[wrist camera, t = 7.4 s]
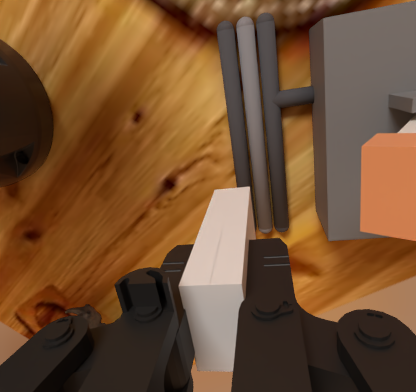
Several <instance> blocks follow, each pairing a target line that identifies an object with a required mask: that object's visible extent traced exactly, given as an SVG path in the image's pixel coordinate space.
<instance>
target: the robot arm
mask: <svg viewBox="0 0 416 392" xmlns="http://www.w3.org/2000/svg"><path fill="white" fill-rule="evenodd" d="M52 137H53V119H52V112H51V108H50V104H49V101H48V98H47V95H46V93H45V90H44V88H43V86H42V84H41V82H40V80H39V79H38V77H37V75H36V74H35V72H34V71H33V70H32V68H31V67H30V66H29V64H28V63H27V62H26V61H25V60H24V59H23V57H22V56H21V55H20V54H18V53H17V52H16V51H15V50H14V49H13V48H12V47H10V46H9V45H8V44H6V43H5V42H3V41H2V40H0V187H4V186H7V185H10V184H13V183H15V182H17V181H19V180H22V179H24V178H26V177H28V176H30V175H31V174H33V173H34V172H35V171H36V170H38V169H39V167H40V166H41V165H42V164H43V162H44V161H45V159H46V157H47V155H48V153H49V151H50V147H51V143H52ZM115 288H116V292H117V295H118V298H119V301H120V305H121V308H122V311H123V313H122V315H121V317H120V319H119V320H118V321H117V322H114V323H111V324H107V325H103V326H100V327H96V328H92V329H90V328H89V325H88V323H87V321H86V319H85V318H83V317H81V316H68V317H64V318H60V319H58V320H56V321H54V322H52V323H49V324H48V325H47V326H45V327H44V328H42V329H41V330H40V331H39V332H37V333H36V334H35V335H34V336H33V337H32V338H31V339H30V340H28V341H27V342H26V343H25V344H24V345H23V346H22V347H21V348H19V349H18V350H17V351H16V352H15V353H14V354H13V355H12V356H10V358H8V359H7V360H6V361H5V362H4V363H3V364H1V365H0V392H193V379H192V375H191V369H192V364H193V360H194V357H195V362H196V366H197V370H198V371H230V372H233V378H232V389H231V392H416V335H415V334H414V333H413V332H412V331H411V330H410V329H409V328H408V327H407V326H406V325H405V324H403V323H402V322H401V321H400V320H398V319H397V318H395V317H393V316H390V315H388V314H386V313H384V312H380V311H375V310H370V309H364V310H354V311H351V312H349V313H346V314H345V315H344V316H343V317H342V318H341V319H340V320H339V321H338V322H333V321H328V320H324V319H321V318H318V317H315V316H313V315H311V314H309V313H307V312H306V311H305V310H304V309H302V308H301V307H300V305H299V304H298V303H297V301H296V298H295V294H294V287H293V281H292V275H291V268H290V262H289V256H288V249H287V245H286V244H285V243H284V242H283V241H282V240H281V239H280V238H271V239H256V235H255V227H254V218H253V209H252V201H251V192H250V187H239V188H229V189H218V190H215V191H214V193H213V196H212V199H211V201H210V204H209V207H208V209H207V212H206V215H205V217H204V220H203V223H202V225H201V228H200V231H199V233H198V236H197V238H196V241H195V244H191V245H177V246H176V247H175V248H173V249H172V250H171V251H170V252H169V253H168V254H167V256H166V257H165V259H164V261H163V264H162V265H161V267H160V269H159V268H151V267H149V268H143V269H138V270H135V271H133V272H130V273H128V274H127V275H125V276H123V277H122V278H120V279H119V280H118V281H117V282H116V284H115Z"/></svg>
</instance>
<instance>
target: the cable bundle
mask: <svg viewBox="0 0 416 392" xmlns="http://www.w3.org/2000/svg"><path fill="white" fill-rule="evenodd" d="M256 26H257V37H258V48H259V59H260V70H261V81H262V92H263V103H264V114H265V125H266V136H267V147H268V159H269V170H270V181H271V192H272V203H273V214H274V225H275V229H276V230H277V231H279V232H285V231H287V230H288V228H289V218H288V204H287V190H286V177H285V163H284V149H283V135H282V121H281V108H284V107H291V106H298V105H305V104H312V103H314V89H313V86H309V87H303V88H296V89H289V90H283V91H279V80H278V66H277V52H276V38H275V24H274V18H273V16H272V15H271V14H270V13H263V14H261V15H260V16H259V17H258V19H257V22H256ZM236 29H237V38H238V47H239V56H240V65H241V74H242V83H243V92H244V101H245V110H246V119H247V128H248V137H249V146H250V155H251V164H252V173H253V183H254V192H255V201H256V210H257V219H258V227H259V230H260V231H261V232H262V233H269V232H270V231H271V230H272V227H273V226H272V215H271V204H270V193H269V182H268V172H267V161H266V150H265V139H264V129H263V118H262V107H261V96H260V86H259V75H258V64H257V53H256V42H255V32H254V23H253V21H252V20H251V19H250V18H249V17H242V18H241V19H240V20H239V21H238V22H237V26H236ZM217 36H218V44H219V52H220V59H221V67H222V75H223V82H224V90H225V98H226V105H227V113H228V121H229V128H230V136H231V144H232V151H233V159H234V167H235V174H236V182H237V188H239V187H250V192H251V201H252V209H253V218H254V227H255V231H256V219H255V210H254V201H253V193H252V184H251V175H250V166H249V157H248V148H247V139H246V131H245V122H244V113H243V104H242V95H241V86H240V77H239V69H238V60H237V51H236V42H235V33H234V27H233V25H232V23H230V22H229V21H223V22H221V23H220V24H219V25H218V27H217Z"/></svg>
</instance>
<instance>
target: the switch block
mask: <svg viewBox="0 0 416 392" xmlns="http://www.w3.org/2000/svg"><path fill="white" fill-rule="evenodd" d="M309 43H310V69H311V86H313V89H314V103H312V121H313V148H314V174H315V200H316V212H317V214H318V217H319V219H320V221H321V224H322V226H323V229H324V231H325V234H326V236H327V238H328V241H337V240H353V239H370V238H387V237H390V236H384V235H378V234H373V233H367V232H361V231H360V211H361V149H362V146H363V145H364V144H365V143H366V142H367V141H369V140H370V139H371V138H372V137H373V136H375V135H376V134H377V133H398V132H399V131H400V130H401V129H402V128H403V127H404V126H405V125H406V124H407V123H408V122H409V121H410V120H411V119H412V118H413V113H416V1H411V2H406V3H400V4H395V5H390V6H385V7H380V8H374V9H369V10H364V11H359V12H353V13H348V14H343V15H338V16H332V17H327V18H323V19H322V20H320V21H319V22H318V23H317V24H315V25H314V26H313V27H312V28H310V29H309Z"/></svg>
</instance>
